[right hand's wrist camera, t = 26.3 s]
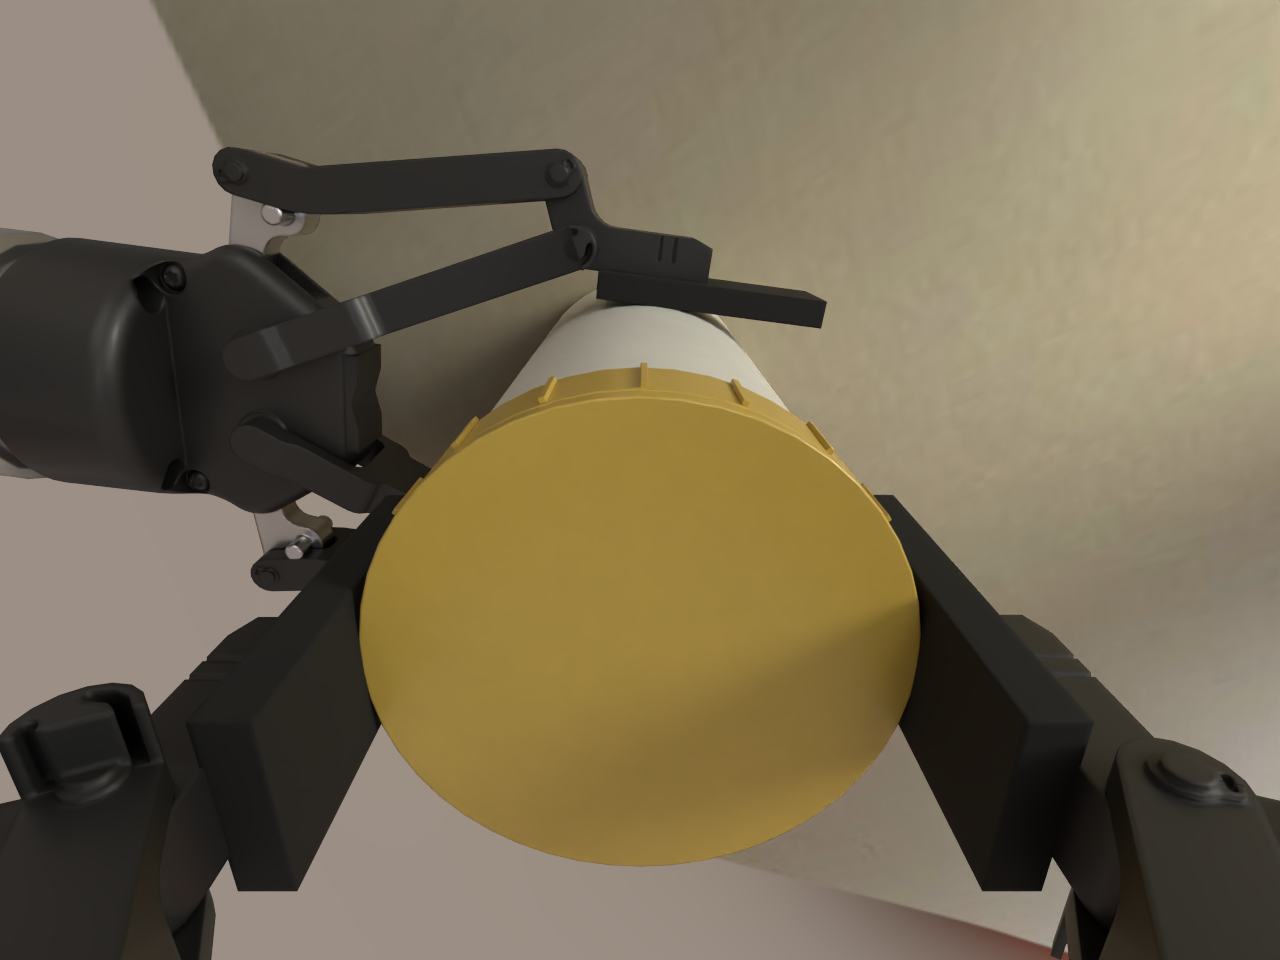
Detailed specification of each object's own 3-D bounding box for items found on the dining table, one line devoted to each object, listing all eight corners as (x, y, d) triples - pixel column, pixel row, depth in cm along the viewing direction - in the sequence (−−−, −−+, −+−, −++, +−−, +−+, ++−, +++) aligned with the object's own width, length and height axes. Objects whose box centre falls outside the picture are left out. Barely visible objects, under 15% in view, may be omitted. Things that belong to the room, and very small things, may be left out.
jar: (709, 494, 30) (797, 848, 13) (523, 453, 29) (371, 773, 13) (765, 307, 27) (967, 463, 10) (560, 256, 26) (422, 336, 10)
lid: (528, 838, 15) (513, 922, 13) (295, 483, 12) (235, 531, 10) (935, 709, 13) (980, 783, 12) (794, 272, 10) (825, 284, 8)
